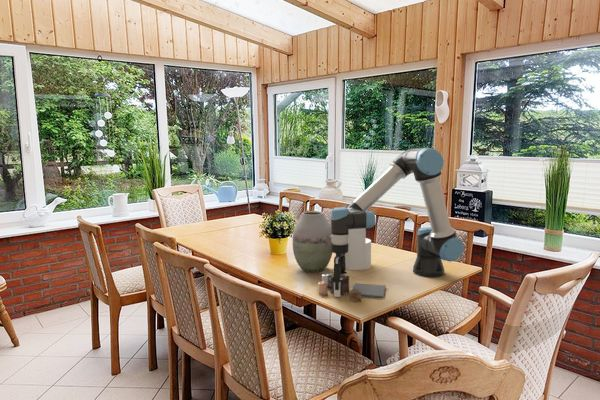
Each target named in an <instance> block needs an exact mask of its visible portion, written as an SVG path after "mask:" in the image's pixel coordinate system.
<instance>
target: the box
mask: <svg viewBox="0 0 600 400" xmlns="http://www.w3.org/2000/svg"><path fill="white" fill-rule="evenodd" d="M332 280H333V277H331V289H330V294H332V295H334V282H332ZM336 280H337V279H336ZM340 282H341V287H340V297H343V296H345V295H346V294H348V293H350V276H348V275H345V276H344V275H340Z"/></svg>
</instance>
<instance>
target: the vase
mask: <svg viewBox="0 0 600 400" xmlns="http://www.w3.org/2000/svg"><path fill="white" fill-rule="evenodd" d="M330 235H331V224H330V222H329V221H328V220H327V218H326V216H325V214H324V212H322V211H318V210H317V211H316V210H314V211H313V210H312V211H311V210H310V211H303V212H302V213H301V214H300V217H299V219H298V221H297V222H296V224H295V225H294V227H293V232H292V251H293V255H294V258H295V261H296V263H297V265H298V266H299V268H300V269H301V270H302V271H303V272H305V273H315V274H316V273H320V272H321V273H322V272H323V271H324V270H325V269H326V268H327V267H328V266H329V263H330V262H331V259H332V256H333V254H334V253H333V252H331V244H332V242H331V238H332V237H330Z"/></svg>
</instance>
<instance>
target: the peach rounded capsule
mask: <svg viewBox="0 0 600 400" xmlns="http://www.w3.org/2000/svg"><path fill="white" fill-rule="evenodd" d="M317 283H318V286H317V288H318V289H317V292H318V295H319V296H327V295H328V289H327V282H325V281H322V280H321V281H318V282H317Z"/></svg>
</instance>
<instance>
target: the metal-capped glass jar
mask: <svg viewBox="0 0 600 400" xmlns="http://www.w3.org/2000/svg"><path fill="white" fill-rule="evenodd" d="M331 277H333V273H331V272H323V273H321V281H325V282H327V290H331Z"/></svg>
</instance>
